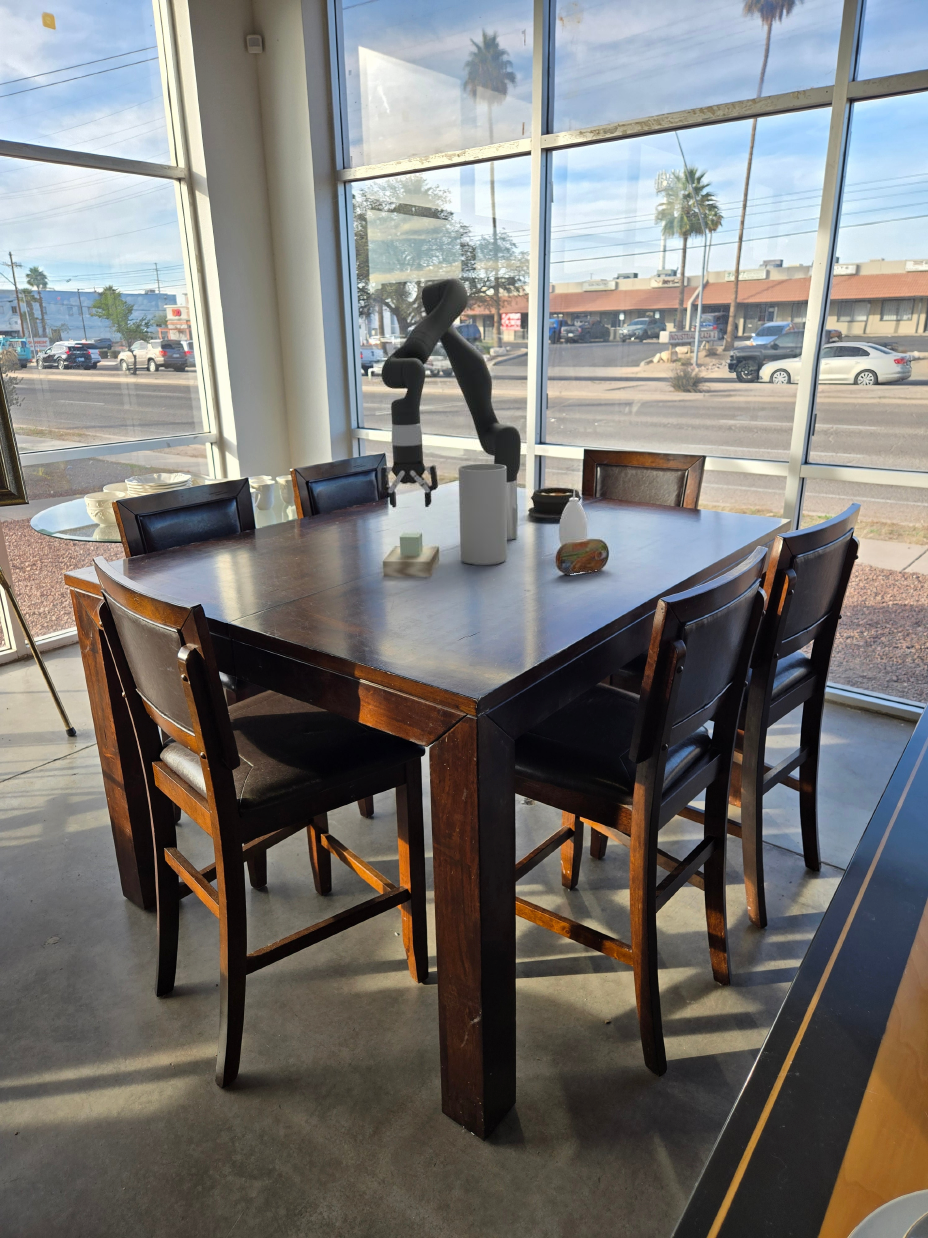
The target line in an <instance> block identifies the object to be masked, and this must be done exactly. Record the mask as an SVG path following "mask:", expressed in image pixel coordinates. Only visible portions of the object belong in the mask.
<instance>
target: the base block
mask: <svg viewBox="0 0 928 1238" xmlns="http://www.w3.org/2000/svg"><path fill="white" fill-rule="evenodd" d="M439 562H440V546H439V545H437V546H436V545H431V546H430V545H428V546H427V545H423V552H422V553H421V555H420V556H401V555H400V545H395V546H394V547H392V549H391V550H390V552H389V553H388V554H387V555H386V556H385V558H384V559H383V560H382V566H383V567H382V570H383V573H382V575H383V577H394V578H396V577H399V578H401V577H403V578H404V577H405V578H412V577H413V578H414V577H417V578H430V577H431V576H432V574H433V573H434V571H435V569H436V567H437V566H438V564H439Z"/></svg>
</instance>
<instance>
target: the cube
mask: <svg viewBox="0 0 928 1238" xmlns="http://www.w3.org/2000/svg"><path fill="white" fill-rule="evenodd" d="M399 546H400V555H401V556H420V555H421V553H422V552H423V546H424V544H423V533H422V532H402V533H401V534H400V536H399Z"/></svg>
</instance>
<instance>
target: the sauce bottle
mask: <svg viewBox="0 0 928 1238" xmlns="http://www.w3.org/2000/svg"><path fill="white" fill-rule="evenodd" d="M573 489H574V492H573V498H570V499H569V501H570V502H568V504H567V505H566V507H565V509H564V511H563V513H562V516H561V519H559V525H558V536H559V537H558V538H559V539H558V540H559V542H560V545H561V546H562V545H563V544H565V543H568V542H574V541H580V540H586V539H588V531H589V529H588V522H587V521H588V520H587V516H586V513H585V509H584V508H583V505H582V504H581V503H580V501H579V499H578V498H575V490H576V489H575V488H573ZM578 501H579V502H578Z"/></svg>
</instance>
